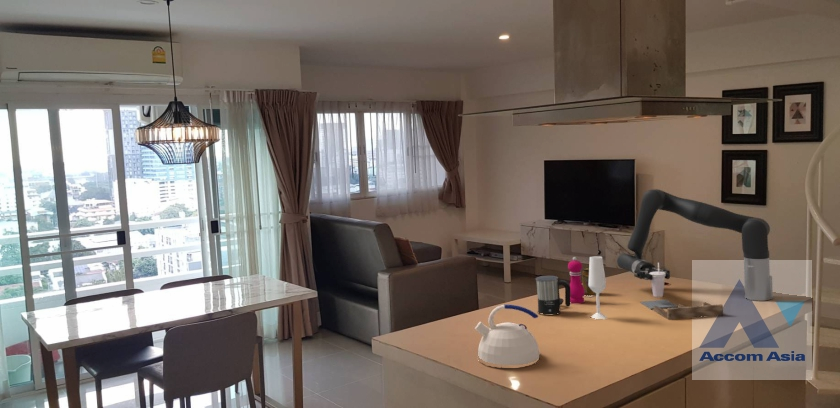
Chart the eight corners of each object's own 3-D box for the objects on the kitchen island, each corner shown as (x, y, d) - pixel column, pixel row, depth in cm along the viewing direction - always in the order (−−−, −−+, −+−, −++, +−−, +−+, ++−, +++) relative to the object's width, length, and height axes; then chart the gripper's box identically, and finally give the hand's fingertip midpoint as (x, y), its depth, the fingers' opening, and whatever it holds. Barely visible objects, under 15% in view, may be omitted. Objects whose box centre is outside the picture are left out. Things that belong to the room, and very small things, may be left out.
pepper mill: (587, 300, 262) (585, 255, 261) (582, 304, 256) (580, 258, 255) (571, 299, 266) (569, 255, 265) (566, 303, 260) (563, 258, 259)
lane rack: (705, 307, 240) (705, 297, 239) (723, 315, 227) (722, 305, 226) (654, 311, 239) (653, 301, 239) (668, 319, 226) (668, 309, 226)
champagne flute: (597, 320, 231) (594, 259, 229) (586, 316, 237) (583, 257, 235) (611, 317, 234) (608, 257, 232) (599, 314, 240) (597, 255, 238)
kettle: (477, 349, 206) (473, 298, 205) (537, 347, 204) (534, 296, 203) (476, 370, 186) (473, 314, 185) (543, 368, 184) (540, 311, 183)
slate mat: (666, 301, 253) (666, 299, 253) (678, 307, 242) (678, 306, 242) (640, 303, 252) (640, 301, 252) (651, 309, 242) (651, 308, 241)
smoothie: (668, 297, 244) (667, 263, 243) (653, 298, 244) (652, 264, 243) (662, 293, 250) (661, 260, 249) (647, 294, 250) (646, 261, 249)
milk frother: (542, 317, 242) (540, 280, 241) (528, 308, 257) (526, 274, 256) (575, 312, 244) (573, 277, 243) (558, 304, 260) (557, 270, 259)
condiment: (600, 293, 274) (599, 267, 273) (590, 297, 268) (589, 271, 267) (586, 291, 279) (584, 266, 278) (576, 295, 273) (575, 269, 272)
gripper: (626, 262, 260) (642, 269, 243) (659, 259, 260) (677, 267, 244) (627, 278, 261) (643, 287, 244) (659, 276, 261) (677, 285, 244)
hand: (660, 277), depth 244 cm, fingers closed on smoothie, 6 cm apart
